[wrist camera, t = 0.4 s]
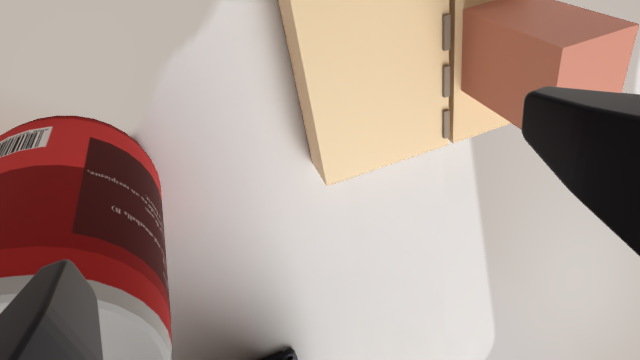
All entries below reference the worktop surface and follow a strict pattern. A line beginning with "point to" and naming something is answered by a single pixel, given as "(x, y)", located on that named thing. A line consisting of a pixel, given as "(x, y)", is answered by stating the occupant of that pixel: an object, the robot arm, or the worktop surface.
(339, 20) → the hinged cream panel
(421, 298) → the worktop surface
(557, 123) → the robot arm
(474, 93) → the stub
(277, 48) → the worktop surface
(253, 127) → the worktop surface
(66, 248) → the canned food
